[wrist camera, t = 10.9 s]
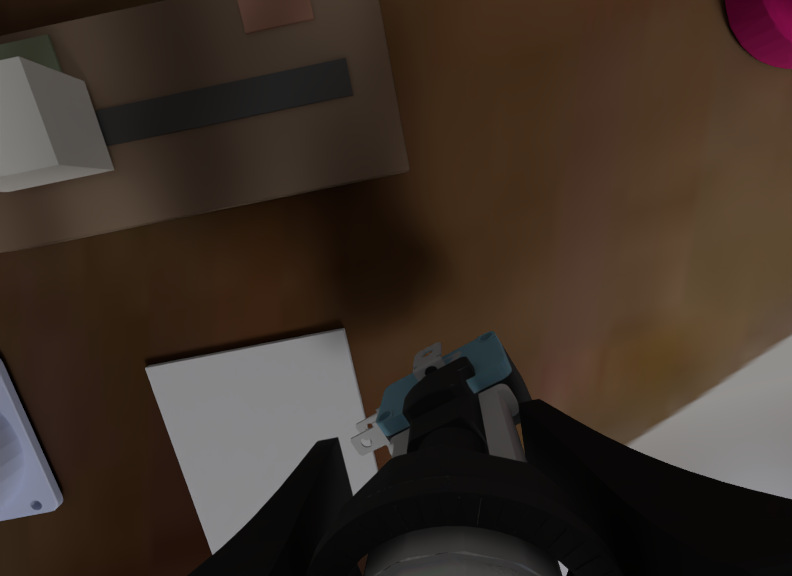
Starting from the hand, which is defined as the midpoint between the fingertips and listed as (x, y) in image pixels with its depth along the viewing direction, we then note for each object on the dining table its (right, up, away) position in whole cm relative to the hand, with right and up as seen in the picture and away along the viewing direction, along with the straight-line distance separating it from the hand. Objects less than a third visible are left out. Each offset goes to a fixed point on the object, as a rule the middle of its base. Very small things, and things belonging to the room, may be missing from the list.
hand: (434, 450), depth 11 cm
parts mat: (-7, -3, +8) cm, 11 cm away
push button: (0, +1, +4) cm, 4 cm away
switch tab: (-14, +10, +3) cm, 17 cm away
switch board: (-9, +11, +4) cm, 15 cm away
